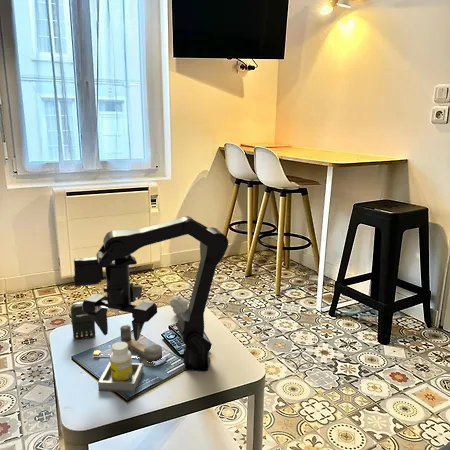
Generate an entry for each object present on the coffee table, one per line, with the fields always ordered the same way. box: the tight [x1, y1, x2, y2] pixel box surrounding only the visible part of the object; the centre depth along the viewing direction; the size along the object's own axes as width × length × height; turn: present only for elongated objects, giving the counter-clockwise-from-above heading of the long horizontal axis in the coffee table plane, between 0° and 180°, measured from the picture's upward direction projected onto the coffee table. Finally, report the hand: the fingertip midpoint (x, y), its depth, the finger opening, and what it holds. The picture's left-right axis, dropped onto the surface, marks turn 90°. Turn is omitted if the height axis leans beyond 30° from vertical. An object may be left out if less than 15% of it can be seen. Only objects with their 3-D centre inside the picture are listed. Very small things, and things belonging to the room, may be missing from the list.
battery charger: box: [70, 301, 96, 341], centre depth 133 cm, size 7×4×11 cm, turn 107°
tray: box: [97, 361, 144, 393], centre depth 113 cm, size 9×9×2 cm
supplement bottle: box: [109, 341, 133, 382], centre depth 112 cm, size 5×5×10 cm
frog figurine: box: [168, 295, 190, 316], centre depth 149 cm, size 6×7×7 cm
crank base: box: [92, 350, 155, 367], centre depth 124 cm, size 21×8×1 cm, turn 87°
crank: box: [119, 324, 163, 361], centre depth 126 cm, size 16×5×5 cm, turn 52°
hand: (121, 337), depth 111 cm, fingers open, 9 cm apart
